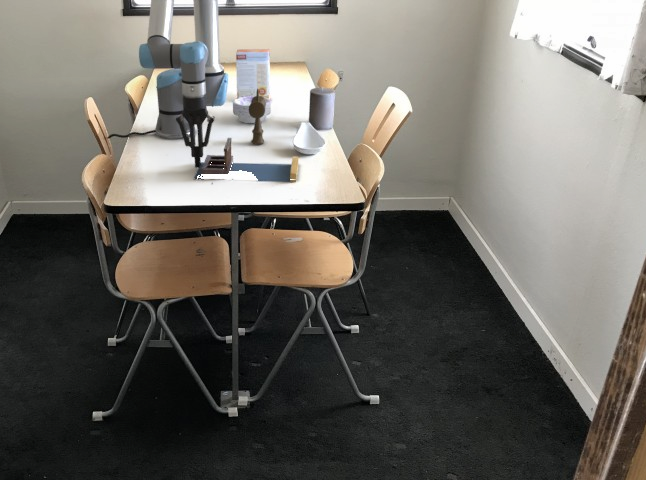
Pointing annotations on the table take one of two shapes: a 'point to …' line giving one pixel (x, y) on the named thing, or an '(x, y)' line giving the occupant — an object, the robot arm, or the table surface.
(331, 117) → the pillar candle
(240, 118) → the paper bowls
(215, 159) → the rack
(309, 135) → the spoon rest
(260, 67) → the cracker box
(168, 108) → the robot arm
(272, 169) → the runner mat
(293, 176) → the rail
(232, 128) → the table surface
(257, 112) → the kendama
